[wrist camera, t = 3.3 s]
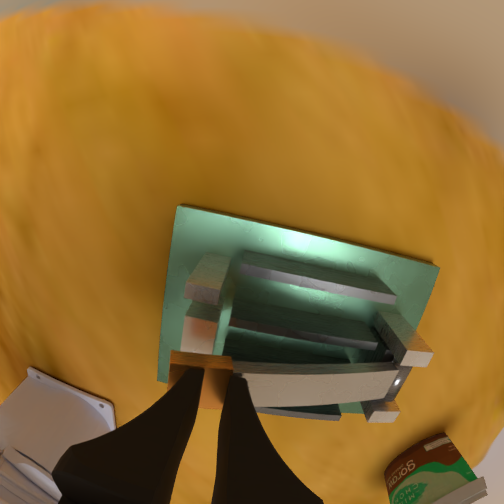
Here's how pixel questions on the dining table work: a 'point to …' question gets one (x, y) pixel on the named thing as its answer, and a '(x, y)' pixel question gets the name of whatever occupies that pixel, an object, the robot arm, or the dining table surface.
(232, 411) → the robot arm
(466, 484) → the food container
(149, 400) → the dining table surface
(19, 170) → the dining table surface
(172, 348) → the green base metal fixture
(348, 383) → the grey and orange bar
